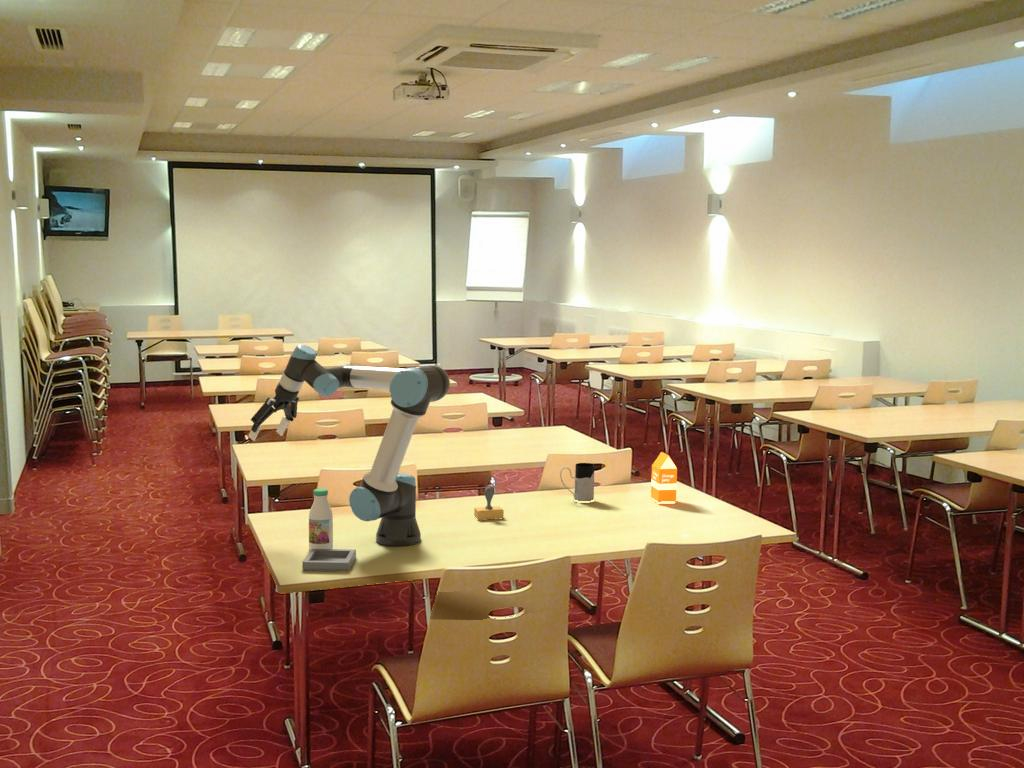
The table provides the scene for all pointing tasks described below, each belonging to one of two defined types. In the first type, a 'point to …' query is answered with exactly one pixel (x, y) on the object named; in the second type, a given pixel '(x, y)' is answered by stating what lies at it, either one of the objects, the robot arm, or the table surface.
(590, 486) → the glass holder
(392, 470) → the robot arm
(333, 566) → the tray
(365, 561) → the table surface
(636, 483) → the table surface
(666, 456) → the orange juice
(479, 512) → the rubber stamp
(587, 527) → the table surface
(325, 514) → the milk bottle
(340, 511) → the table surface
